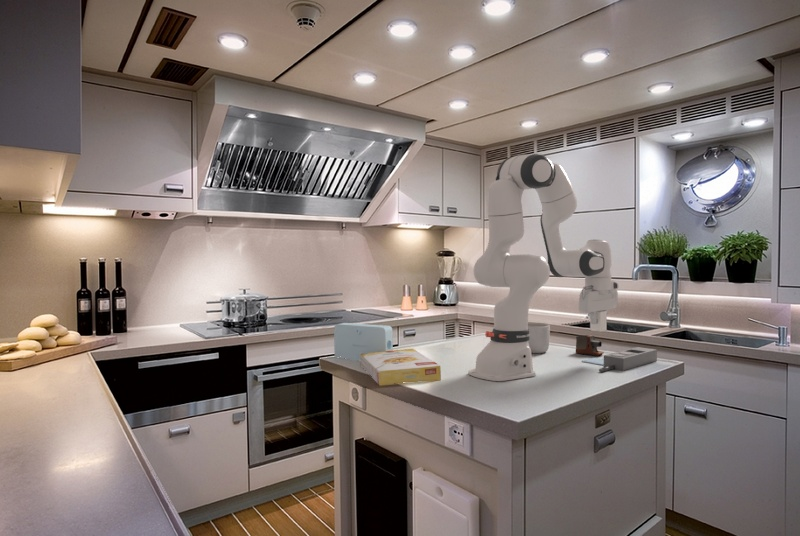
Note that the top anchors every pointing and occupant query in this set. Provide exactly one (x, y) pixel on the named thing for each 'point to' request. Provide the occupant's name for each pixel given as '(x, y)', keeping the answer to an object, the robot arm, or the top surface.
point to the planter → (539, 337)
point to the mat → (594, 361)
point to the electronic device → (588, 345)
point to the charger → (600, 322)
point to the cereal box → (400, 367)
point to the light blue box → (361, 339)
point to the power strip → (629, 358)
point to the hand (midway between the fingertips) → (598, 323)
